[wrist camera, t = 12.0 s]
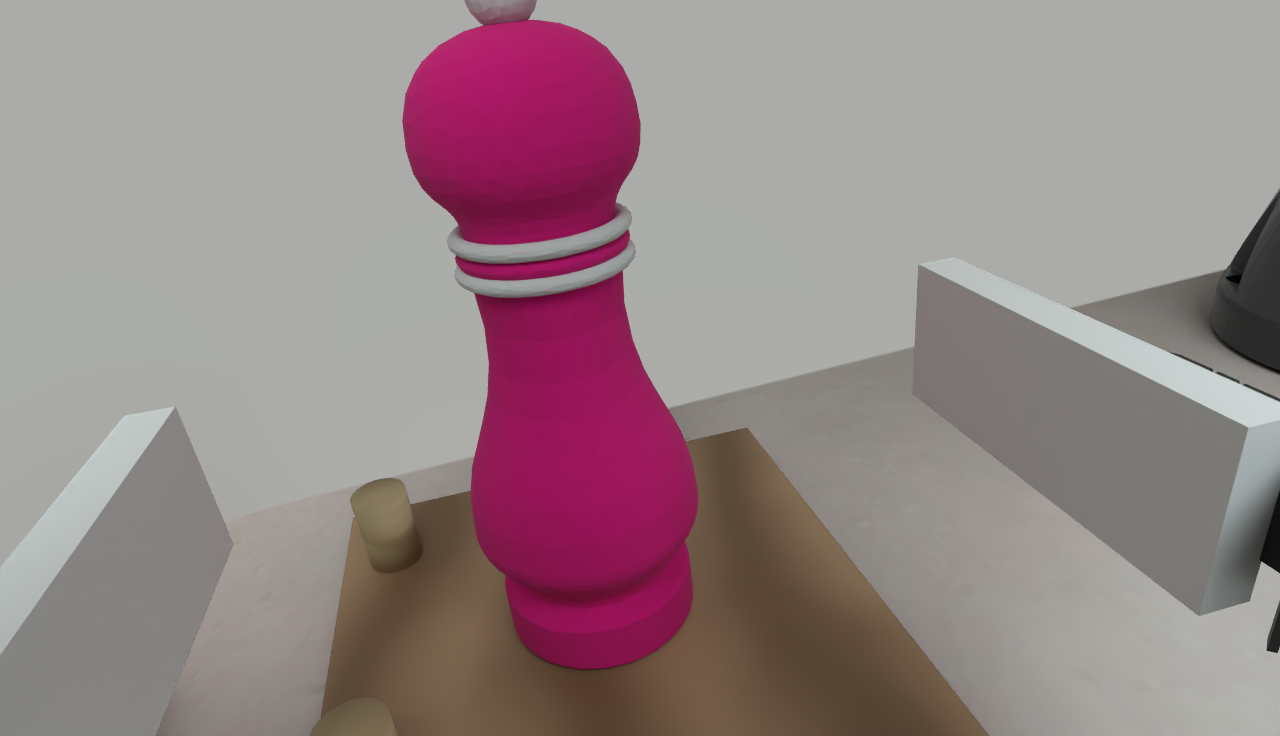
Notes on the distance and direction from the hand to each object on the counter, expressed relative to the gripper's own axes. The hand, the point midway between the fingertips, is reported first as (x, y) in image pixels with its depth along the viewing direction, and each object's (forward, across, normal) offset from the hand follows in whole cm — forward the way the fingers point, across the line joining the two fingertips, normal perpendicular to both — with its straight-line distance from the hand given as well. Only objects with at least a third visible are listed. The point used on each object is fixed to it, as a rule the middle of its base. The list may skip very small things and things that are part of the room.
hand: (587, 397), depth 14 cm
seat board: (+8, 0, -13) cm, 16 cm away
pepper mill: (+8, 0, -12) cm, 15 cm away
